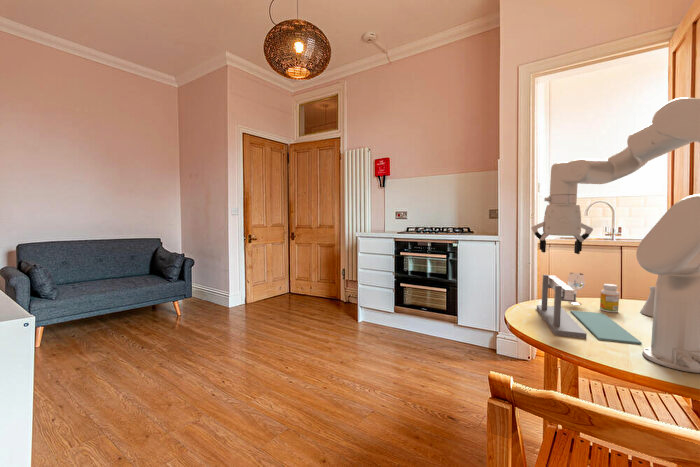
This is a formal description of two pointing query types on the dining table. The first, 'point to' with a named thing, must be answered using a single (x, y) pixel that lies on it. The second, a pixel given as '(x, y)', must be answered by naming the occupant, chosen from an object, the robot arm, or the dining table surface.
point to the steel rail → (566, 290)
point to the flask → (649, 303)
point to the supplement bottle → (609, 298)
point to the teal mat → (604, 327)
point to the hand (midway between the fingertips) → (559, 252)
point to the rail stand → (558, 313)
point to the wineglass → (576, 283)
